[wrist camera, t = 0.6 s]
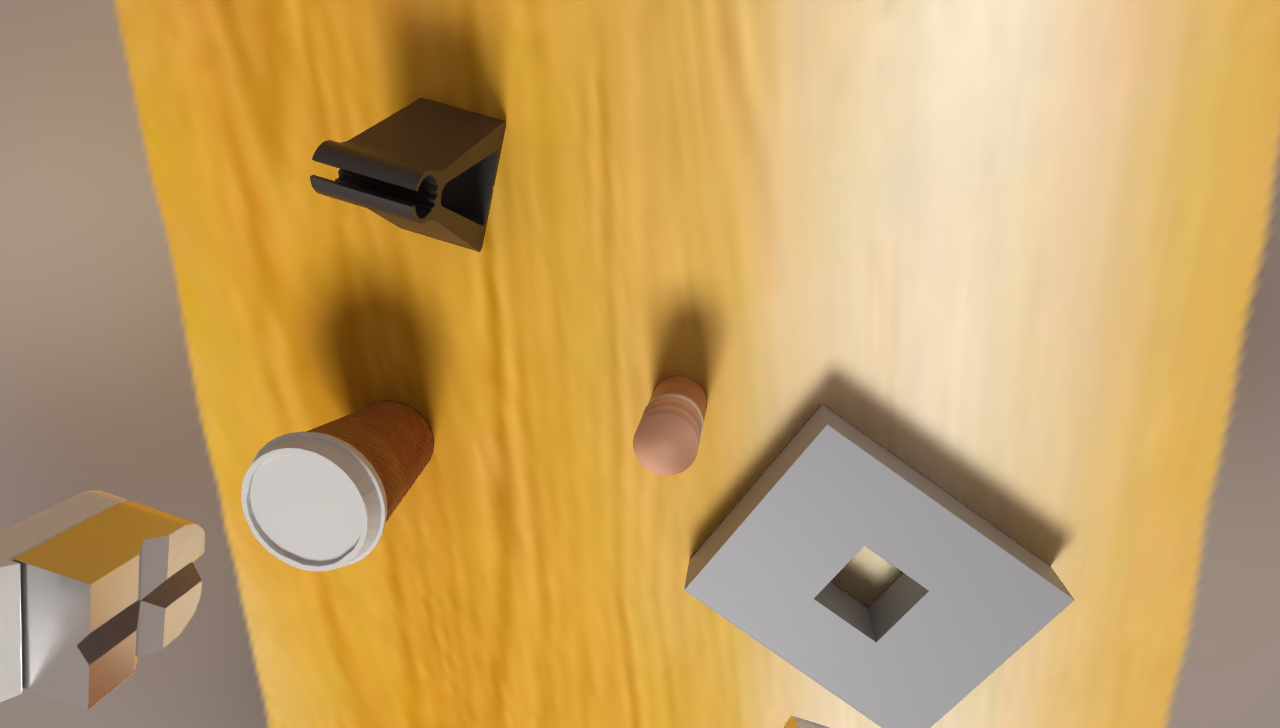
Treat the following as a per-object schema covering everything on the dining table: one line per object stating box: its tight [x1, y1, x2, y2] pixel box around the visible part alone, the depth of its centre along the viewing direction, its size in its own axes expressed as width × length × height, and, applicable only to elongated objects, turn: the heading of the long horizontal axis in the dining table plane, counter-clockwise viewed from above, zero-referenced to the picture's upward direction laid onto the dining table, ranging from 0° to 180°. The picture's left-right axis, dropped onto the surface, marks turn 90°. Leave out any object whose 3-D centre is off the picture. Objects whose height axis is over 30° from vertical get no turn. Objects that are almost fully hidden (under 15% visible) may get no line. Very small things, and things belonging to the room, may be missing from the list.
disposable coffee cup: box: [241, 401, 434, 571], centre depth 50 cm, size 10×10×12 cm
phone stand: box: [310, 98, 506, 252], centre depth 44 cm, size 9×6×12 cm, turn 164°
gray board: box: [684, 404, 1074, 728], centre depth 51 cm, size 16×20×4 cm
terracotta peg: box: [633, 376, 707, 475], centre depth 48 cm, size 4×4×8 cm
